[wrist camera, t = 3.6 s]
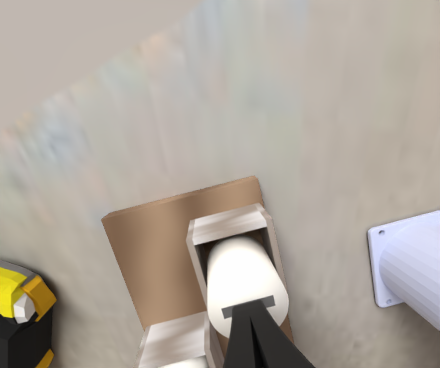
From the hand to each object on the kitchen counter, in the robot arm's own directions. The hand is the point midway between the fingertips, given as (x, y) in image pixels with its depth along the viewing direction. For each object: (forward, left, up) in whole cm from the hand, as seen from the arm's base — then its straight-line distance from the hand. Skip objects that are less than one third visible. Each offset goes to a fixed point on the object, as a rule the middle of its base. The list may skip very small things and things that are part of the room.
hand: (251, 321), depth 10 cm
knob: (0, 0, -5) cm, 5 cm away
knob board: (+3, +4, -9) cm, 10 cm away
